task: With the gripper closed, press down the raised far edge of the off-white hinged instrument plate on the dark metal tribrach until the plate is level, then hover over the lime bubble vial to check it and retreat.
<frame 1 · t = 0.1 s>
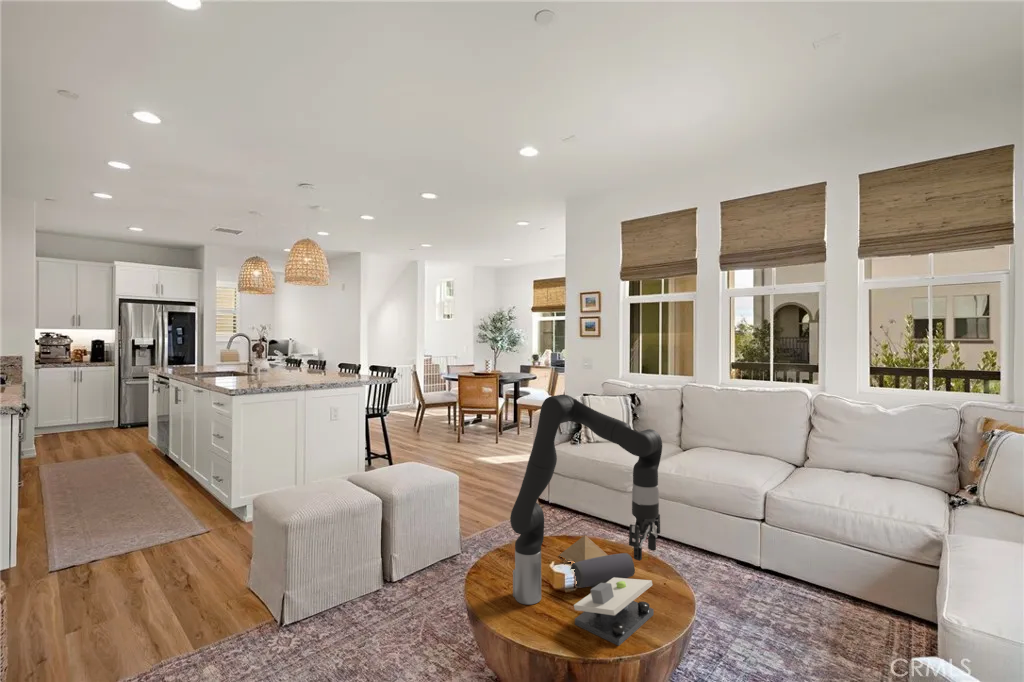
hand: (644, 554, 146), 29 cm above the table, fingers open, 8 cm apart
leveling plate: (613, 590, 164), point 10 cm above the table, hinge at -15.0°
bluetooth speaker: (602, 584, 187), on the table
model pyramid: (584, 559, 208), on the table
tribrach base: (614, 619, 164), on the table
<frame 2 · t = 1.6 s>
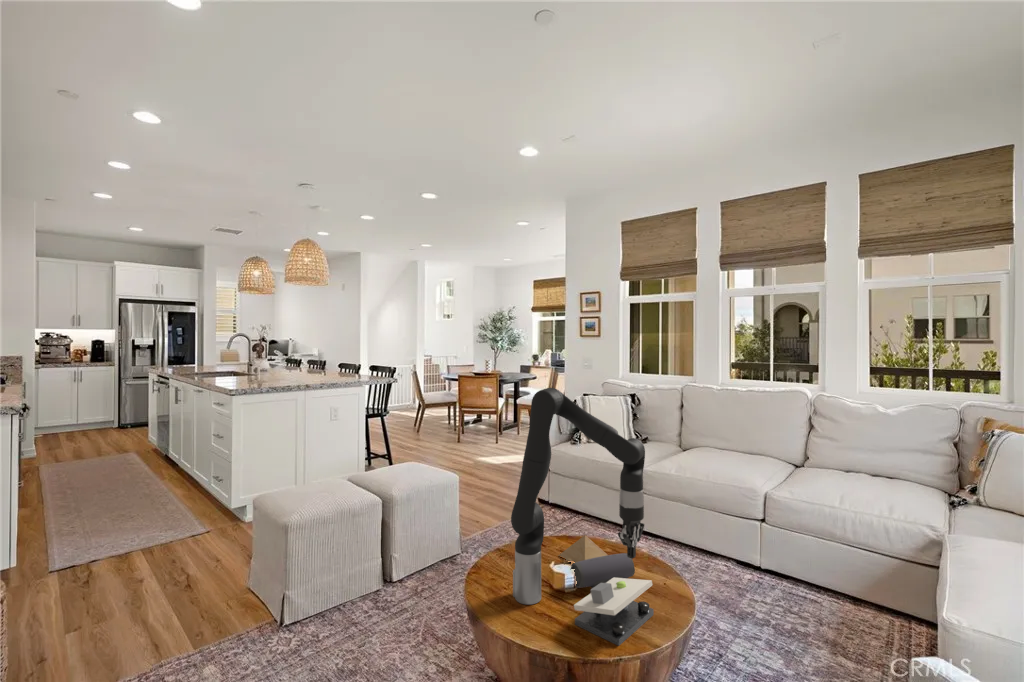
hand: (631, 557, 159), 22 cm above the table, fingers closed
nothing on the table moved.
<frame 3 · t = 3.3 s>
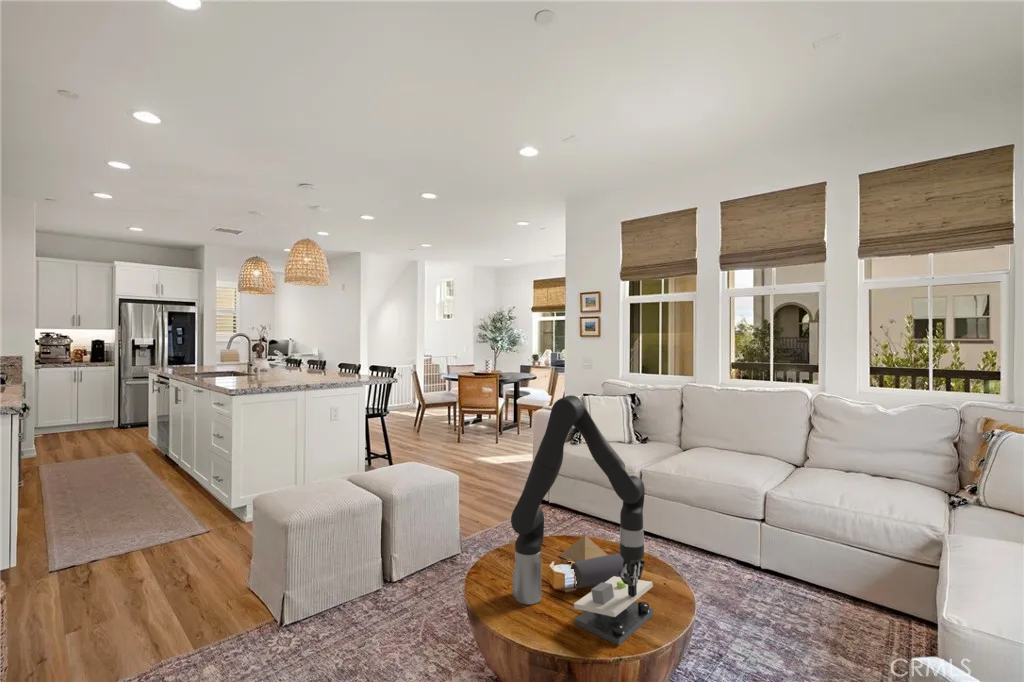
hand: (632, 595, 159), 10 cm above the table, fingers closed
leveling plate: (613, 590, 164), point 10 cm above the table, hinge at -11.6°, touching gripper
everything else where it was.
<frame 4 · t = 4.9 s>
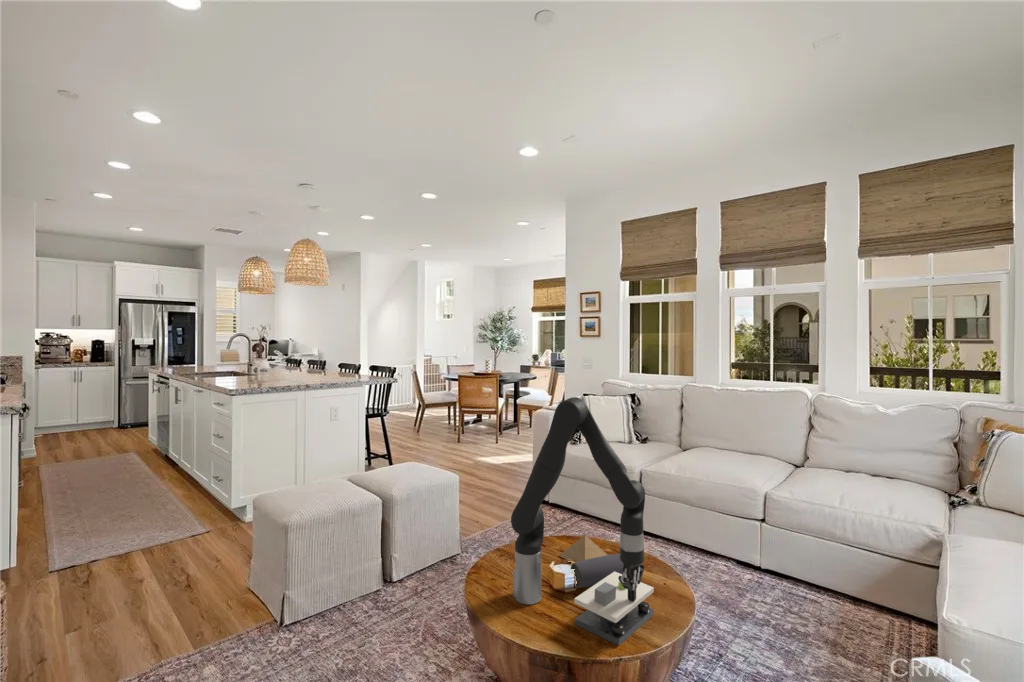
hand: (631, 599, 159), 9 cm above the table, fingers closed
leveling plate: (615, 590, 163), point 10 cm above the table, hinge at 1.9°
everything else where it was.
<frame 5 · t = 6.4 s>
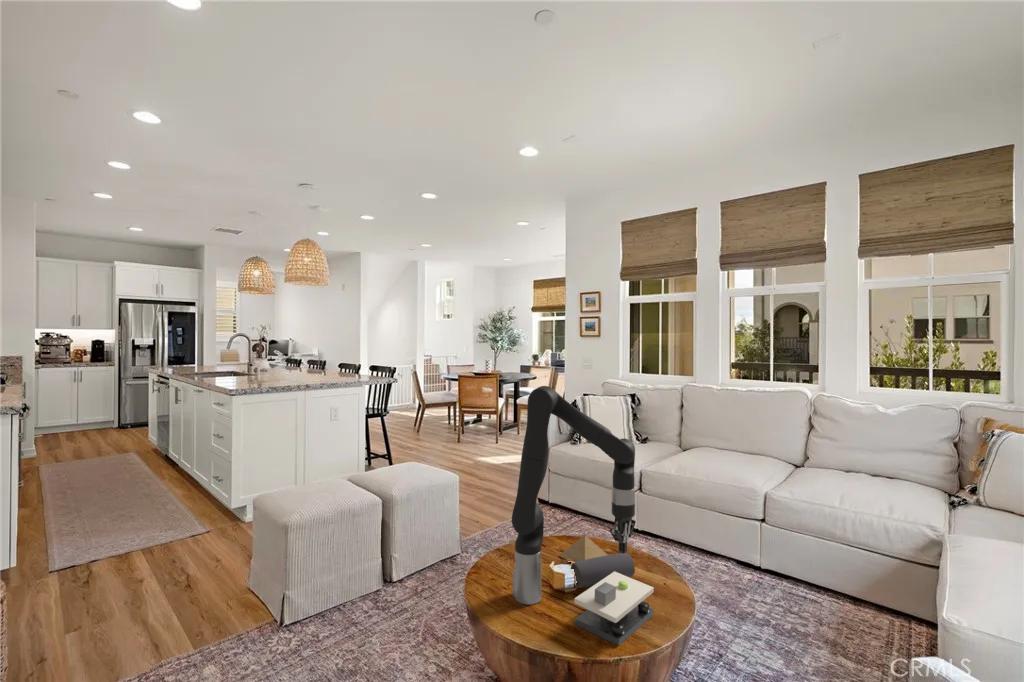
hand: (622, 552, 166), 21 cm above the table, fingers closed
nothing on the table moved.
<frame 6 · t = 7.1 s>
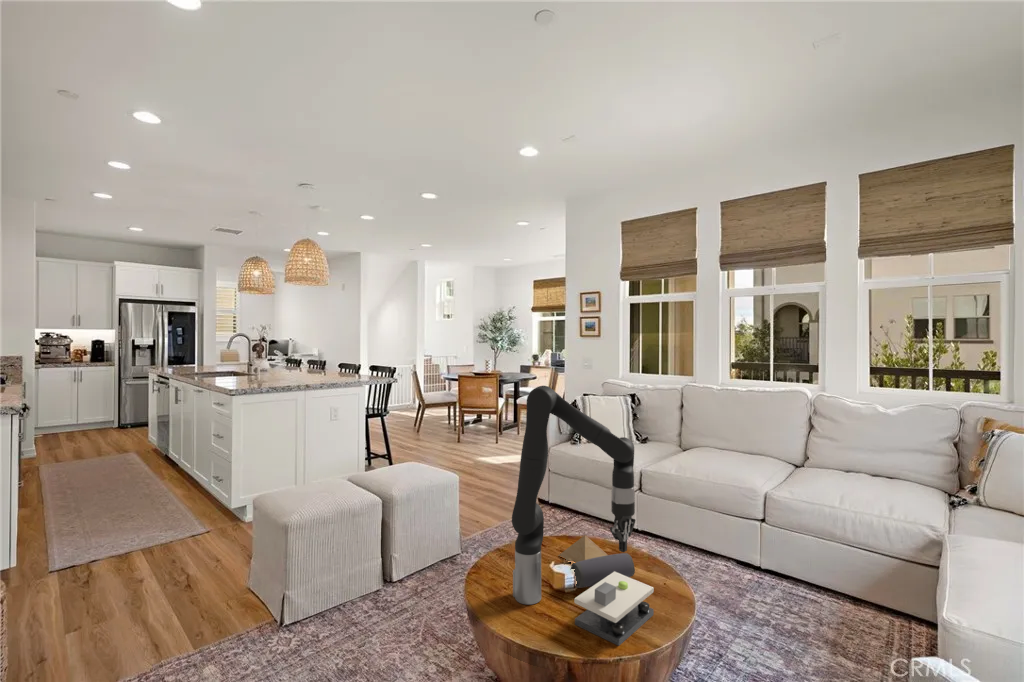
hand: (622, 550, 167), 21 cm above the table, fingers closed
nothing on the table moved.
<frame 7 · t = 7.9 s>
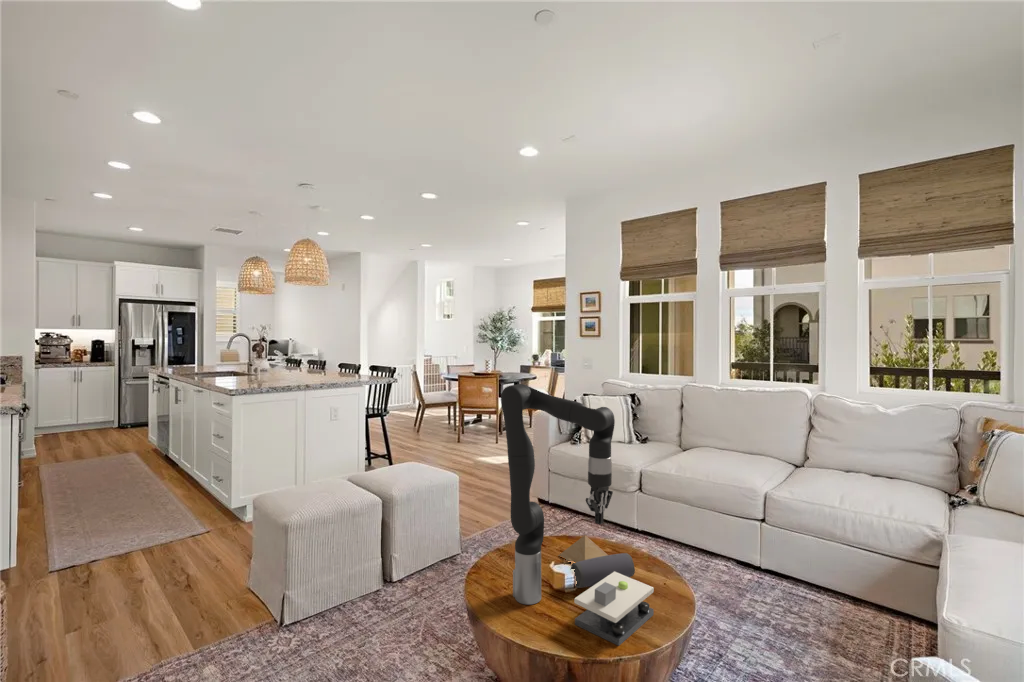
hand: (599, 523, 162), 32 cm above the table, fingers closed
nothing on the table moved.
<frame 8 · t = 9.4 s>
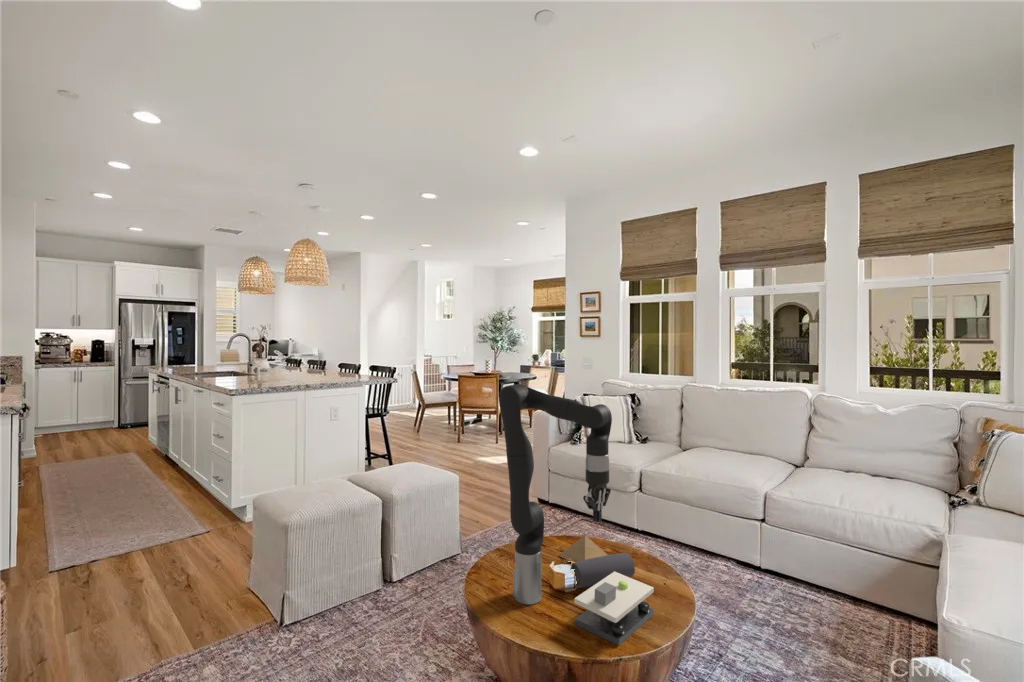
hand: (597, 520, 161), 33 cm above the table, fingers closed
nothing on the table moved.
at the end: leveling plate at +2° (first picture: -15°) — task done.
